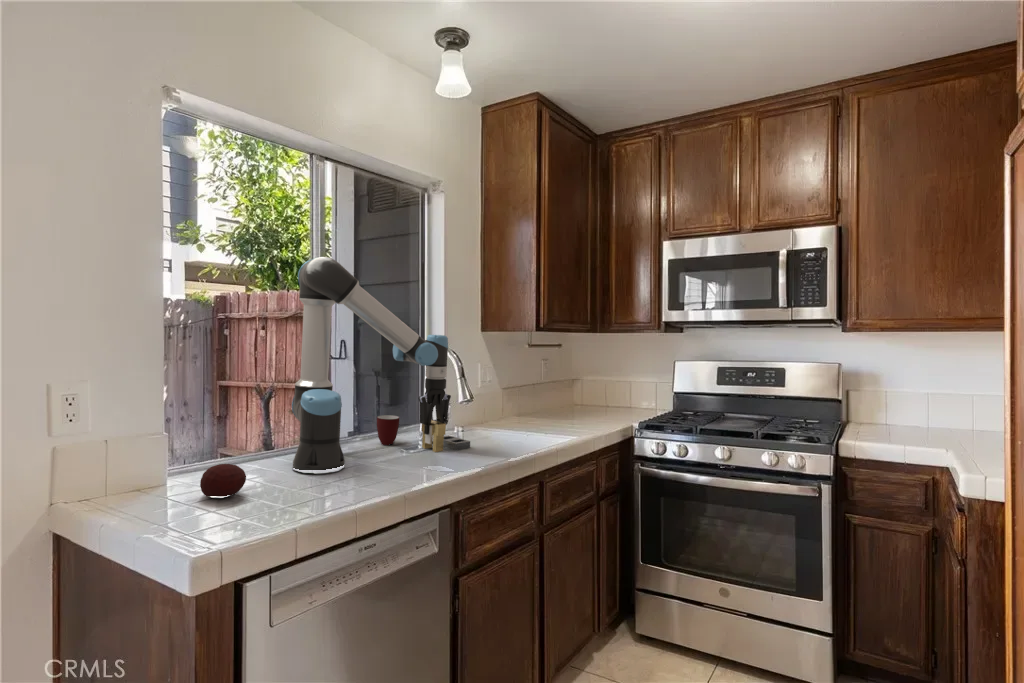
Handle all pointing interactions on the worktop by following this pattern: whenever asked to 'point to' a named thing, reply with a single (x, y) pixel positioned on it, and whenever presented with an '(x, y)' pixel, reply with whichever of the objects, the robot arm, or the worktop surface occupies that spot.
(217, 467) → the potato
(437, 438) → the tan wooden arch block
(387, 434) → the mug
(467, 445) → the grey flat block
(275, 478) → the worktop surface
